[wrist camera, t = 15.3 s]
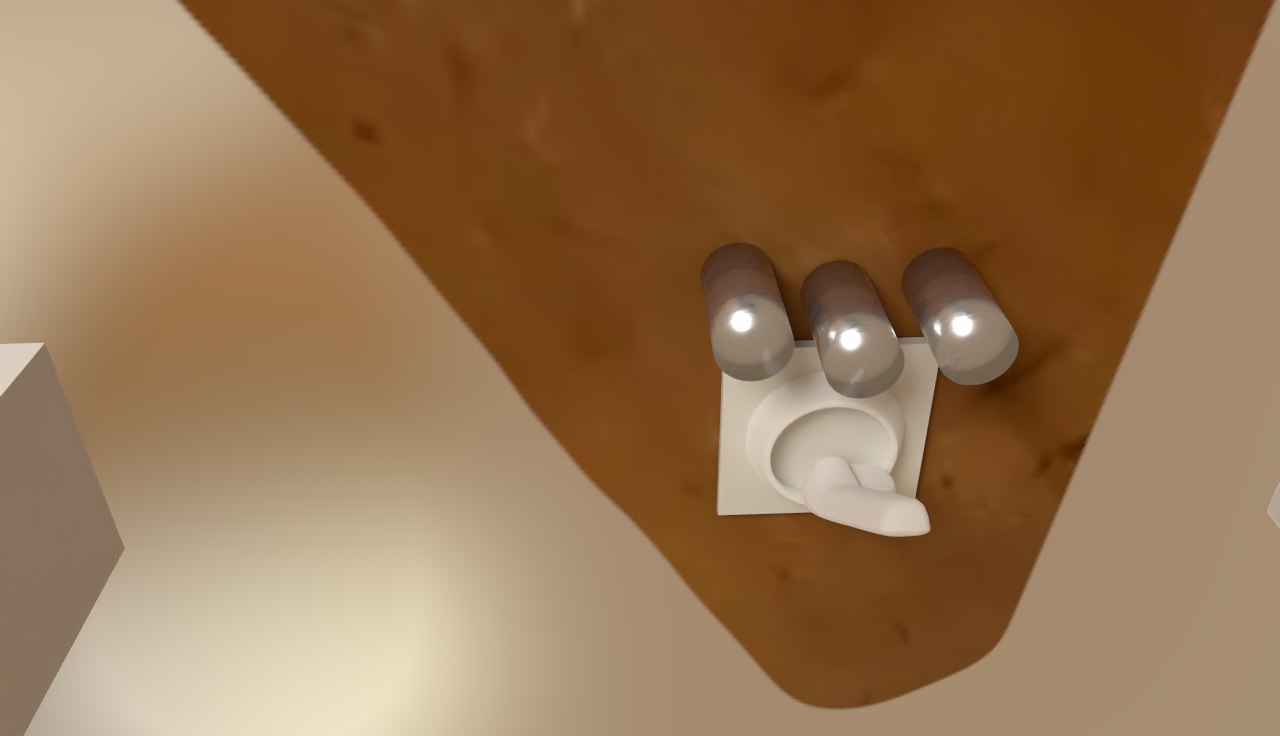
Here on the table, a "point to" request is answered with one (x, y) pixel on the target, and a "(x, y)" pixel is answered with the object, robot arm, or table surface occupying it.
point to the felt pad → (820, 432)
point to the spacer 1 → (746, 313)
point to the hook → (838, 461)
